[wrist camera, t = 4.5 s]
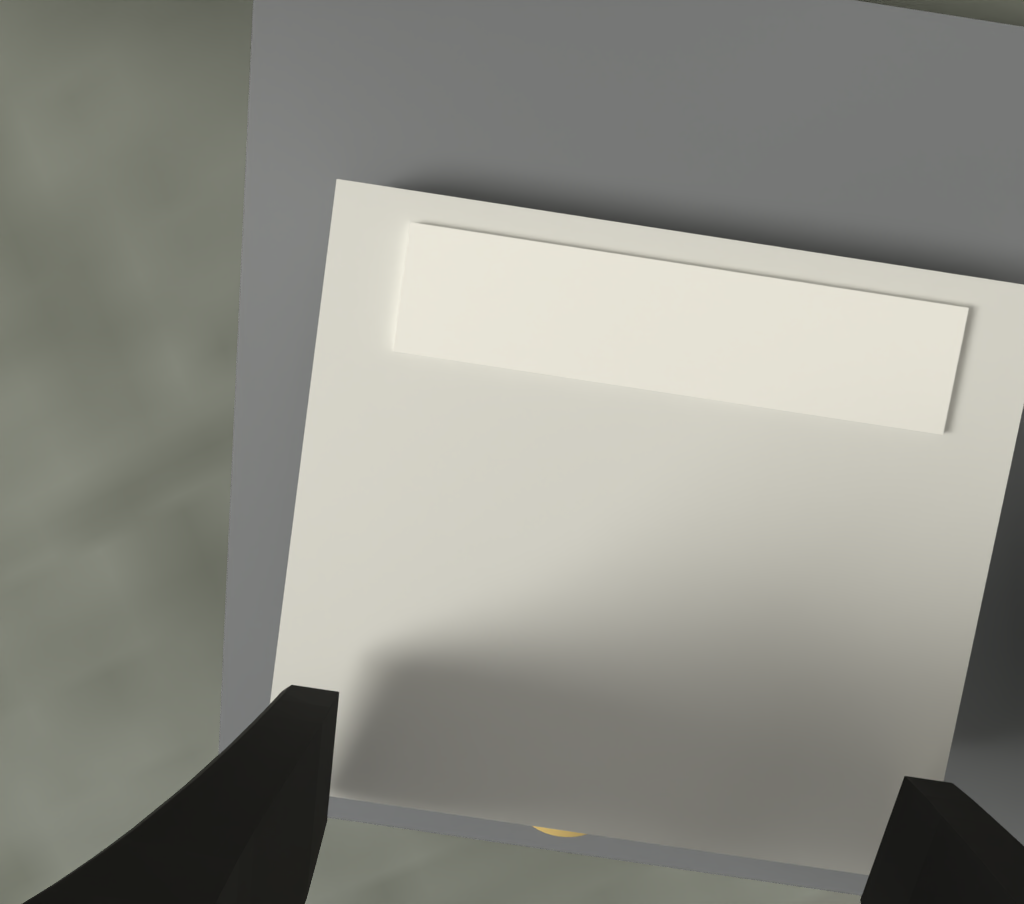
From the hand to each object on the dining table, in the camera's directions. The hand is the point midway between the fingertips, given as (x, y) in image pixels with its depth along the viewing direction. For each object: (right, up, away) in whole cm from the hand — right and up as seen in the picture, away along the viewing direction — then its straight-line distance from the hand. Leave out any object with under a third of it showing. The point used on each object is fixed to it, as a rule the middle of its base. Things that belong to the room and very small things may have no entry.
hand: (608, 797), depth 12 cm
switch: (0, +3, +1) cm, 3 cm away
